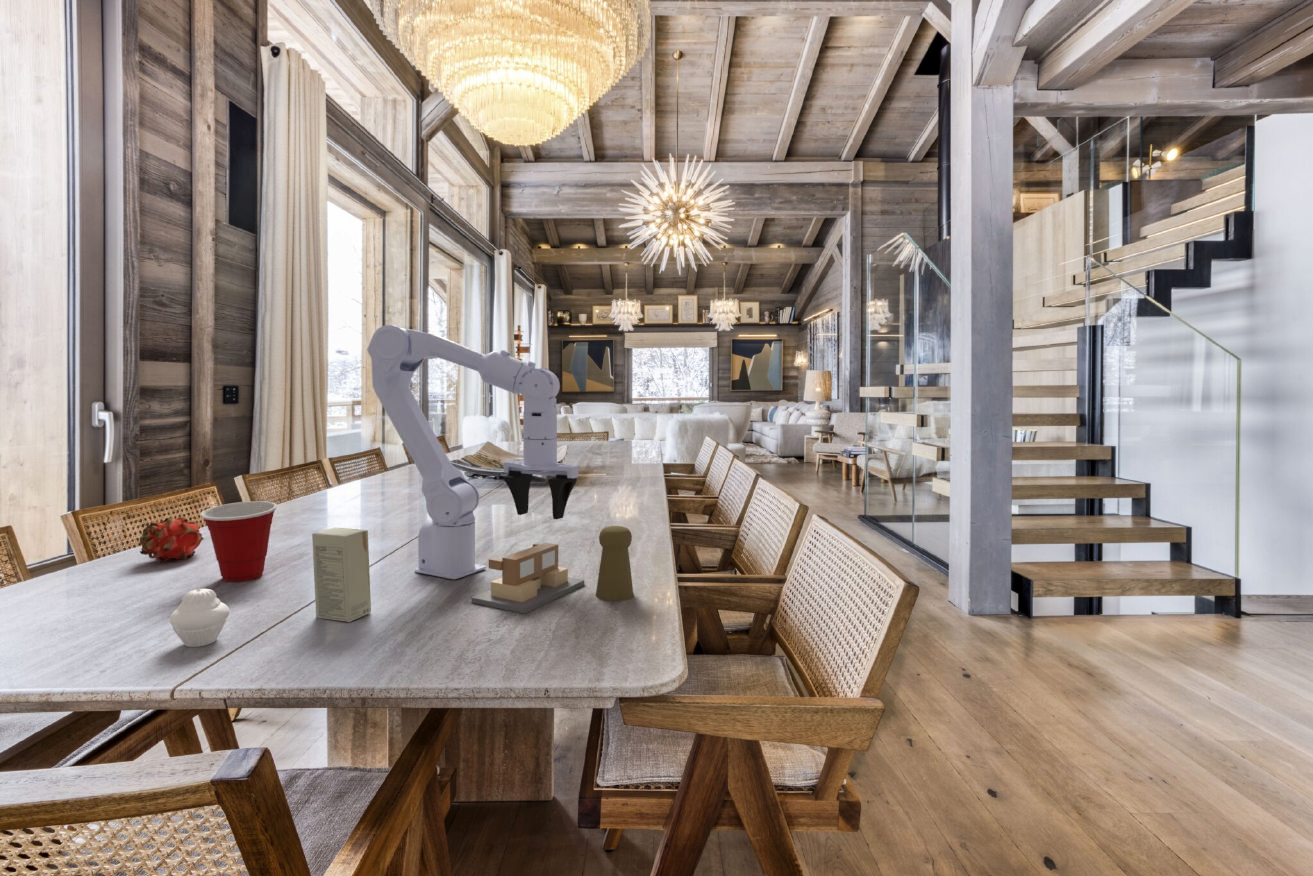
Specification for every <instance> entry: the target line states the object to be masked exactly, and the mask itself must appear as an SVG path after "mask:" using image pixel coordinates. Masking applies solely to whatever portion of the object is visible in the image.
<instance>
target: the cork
mask: <svg viewBox="0 0 1313 876" xmlns="http://www.w3.org/2000/svg"><path fill="white" fill-rule="evenodd" d="M632 537H633V535H632V532H631V530H630V529H629V528H628V527H625V526H620V525H610V526H605V527H604V528H602V529H601V531H600V532H599V536H598V540H599V544H600V546H601V548H602V549H601V555H600V562H599V570H598V577H597V583H596V589H595V590H596V591H595V597H596V598H597V599H600V600H603V601H608V602H620V601H627V600H630V599H632V598H633V597H634V587H633V579H632V571H631V570H632V569H631V562H630V561H631V560H630V552H629V547H630V546H631V544H632V541H633V538H632Z"/></svg>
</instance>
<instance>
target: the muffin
mask: <svg viewBox="0 0 1313 876" xmlns="http://www.w3.org/2000/svg"><path fill="white" fill-rule="evenodd" d="M229 615H230V608H229V606H228V605H227V604H226V603H224V602H222V601H221V600H220V598H217V593H216V592H215V591H214V590H213V589H209V588H200V587H199V588H196V589H192V590H190V591H188V592H186V593H185V594H184V595H183V596H182V598H181V603H180V604H179V605H178V607H177V608H176V609H175V610H174V611H173V612H172V613H171V615H170V616H169V623H170V625H171V626H172V630H173V631H174V633H175V634H176V636H177V637H178V638H179V640H180V641H182V643H183V644H184V646H186V647H188V648H200V647H205V646H209V645H211V644H213V643H215V642H216V641H217V640H218V637H219V636H220V634H221V632H222V630H223V628H224V626H225V624H226V623H227V618H228V617H229Z"/></svg>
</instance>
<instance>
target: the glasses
mask: <svg viewBox="0 0 1313 876" xmlns="http://www.w3.org/2000/svg"><path fill="white" fill-rule="evenodd" d="M558 567H559V544H557V543H550V542H544V543H536V542H535V543H533V544H532V546H531V547H529V548H526V549H523V550H519V551H517V552H514V553H511V554H508V555H506V556H502V558H501V559H499V558H494V557H493V558H491V557H490V558H488V569H490V570H495V571H501V572H502V573H501V578H502V583H503V584H508V585H513V586H517V585H520V584H522V583H524V582H527V581H529V580H531V579H534V578H536V577H539V576H541V575H543V574H546V573H548V572H551V571H553V570H555V569H558Z"/></svg>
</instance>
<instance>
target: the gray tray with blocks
mask: <svg viewBox="0 0 1313 876" xmlns="http://www.w3.org/2000/svg"><path fill="white" fill-rule="evenodd" d="M568 572H569V568H568V567H562V566H558V569H555V570H553V571H551V572H548V573H546V574H543V575H541V576H539V577H536V578H534V579H531V580H529V581H527V582H524V583H522V584H520V585H517V586H513V585H508V584H503V583H502V577H500V578H497V579H494V580H492V581H490V589H489V590H487V591H484V592H482V593H480V594H477V595H475V596H472V597H471V603H472V604H477V605H482V606H487V607H491V608H496V609H501V610H503V611H504V610H505V611H509V612H510V611H511V612H514V613H519V614H523V615H525V614H527V613H529V612H531V611H534V610H535V609H538V608H540V607H542V606H544V605H546V604H548V603H550V602H552V601H554V600H556V599H558V598H560V597H562V596H564V595H566V594H568V593H570V592H572V591H574V590H576V589H578V588H580V587H583V586H584V585H585V579H581V578H576V577H575V578H574V577H569V576H568V575H569V573H568Z"/></svg>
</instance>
